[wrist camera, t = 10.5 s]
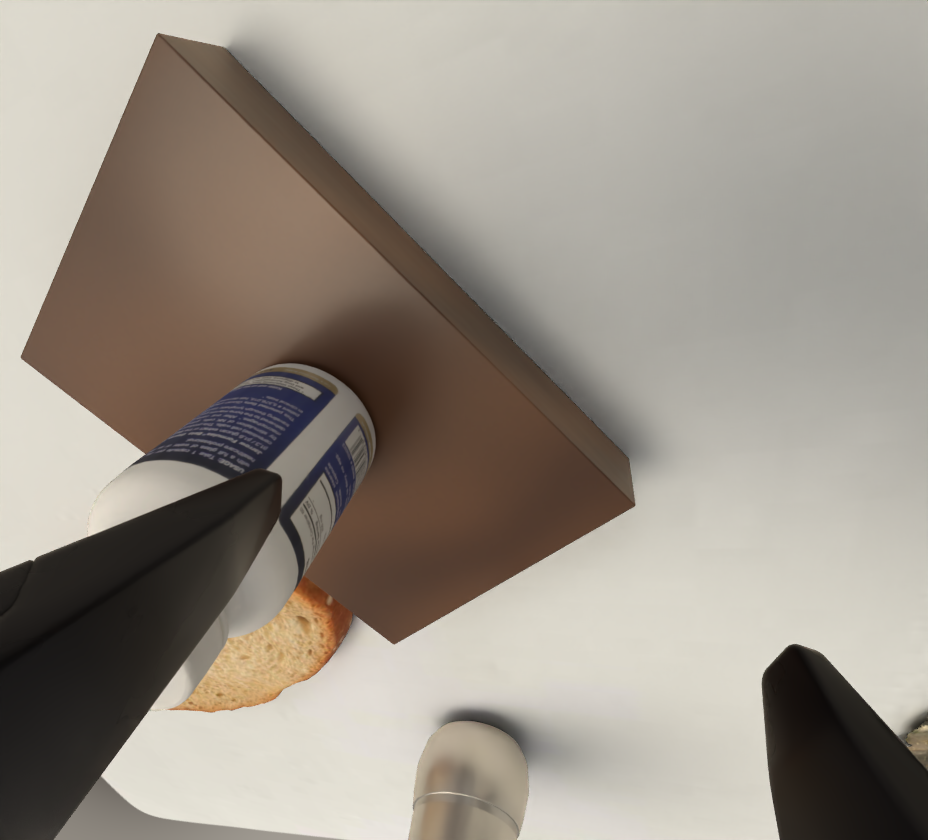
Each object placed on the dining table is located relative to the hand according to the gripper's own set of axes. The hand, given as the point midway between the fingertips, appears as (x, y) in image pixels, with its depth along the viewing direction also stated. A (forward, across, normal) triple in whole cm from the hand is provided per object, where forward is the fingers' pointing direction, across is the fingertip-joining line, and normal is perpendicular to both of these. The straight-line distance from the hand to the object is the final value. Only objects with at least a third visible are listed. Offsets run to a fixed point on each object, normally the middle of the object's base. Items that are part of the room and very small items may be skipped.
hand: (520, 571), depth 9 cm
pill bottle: (+9, +8, +5) cm, 13 cm away
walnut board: (+12, +8, +5) cm, 15 cm away
